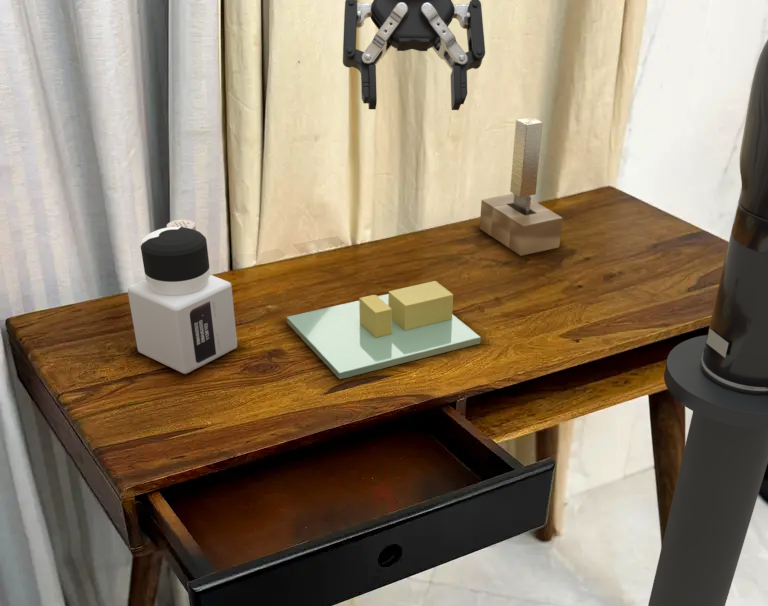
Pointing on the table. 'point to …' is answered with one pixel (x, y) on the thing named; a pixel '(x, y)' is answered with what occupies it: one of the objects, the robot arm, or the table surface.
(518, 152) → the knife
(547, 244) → the knife stand
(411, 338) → the butter board
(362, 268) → the table surface
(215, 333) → the container
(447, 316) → the butter block
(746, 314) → the robot arm
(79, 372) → the table surface
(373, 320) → the block
